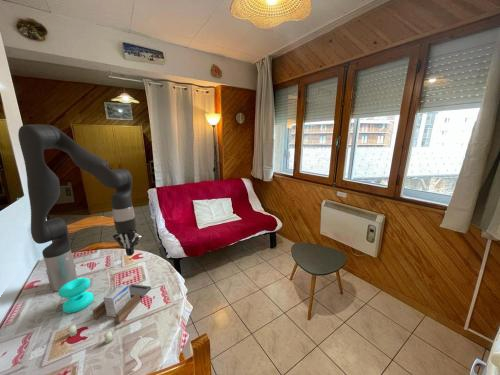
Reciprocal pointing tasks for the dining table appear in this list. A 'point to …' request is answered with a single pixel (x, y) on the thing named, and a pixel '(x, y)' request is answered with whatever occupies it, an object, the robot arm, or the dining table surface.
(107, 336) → the pair of cream knobs
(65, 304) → the turquoise spool
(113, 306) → the medicine box
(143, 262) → the dining table surface
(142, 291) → the pit tray
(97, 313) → the channel
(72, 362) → the dining table surface
